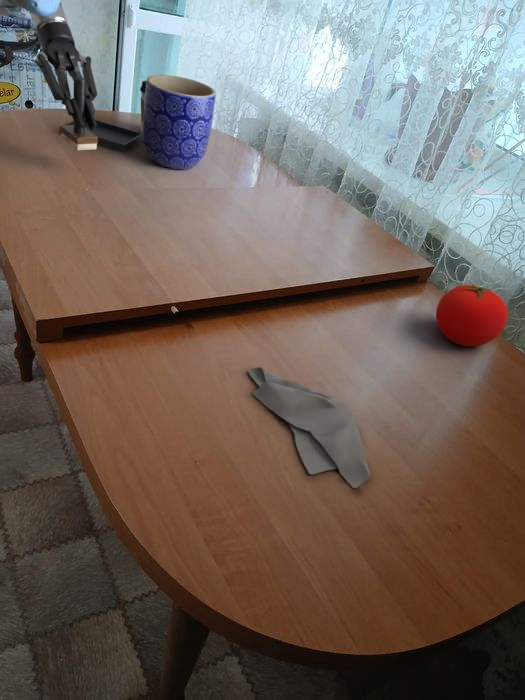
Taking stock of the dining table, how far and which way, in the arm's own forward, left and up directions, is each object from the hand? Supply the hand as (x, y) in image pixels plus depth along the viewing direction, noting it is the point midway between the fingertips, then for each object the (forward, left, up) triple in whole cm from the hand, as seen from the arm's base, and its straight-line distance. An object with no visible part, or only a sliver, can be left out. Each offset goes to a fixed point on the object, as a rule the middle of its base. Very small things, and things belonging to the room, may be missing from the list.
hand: (87, 127), depth 128 cm
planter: (+13, +26, -12) cm, 32 cm away
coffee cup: (-1, +43, -12) cm, 45 cm away
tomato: (+94, -22, -12) cm, 97 cm away
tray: (-10, +29, -12) cm, 33 cm away
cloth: (+69, -60, -12) cm, 92 cm away
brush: (-3, +2, -5) cm, 6 cm away
